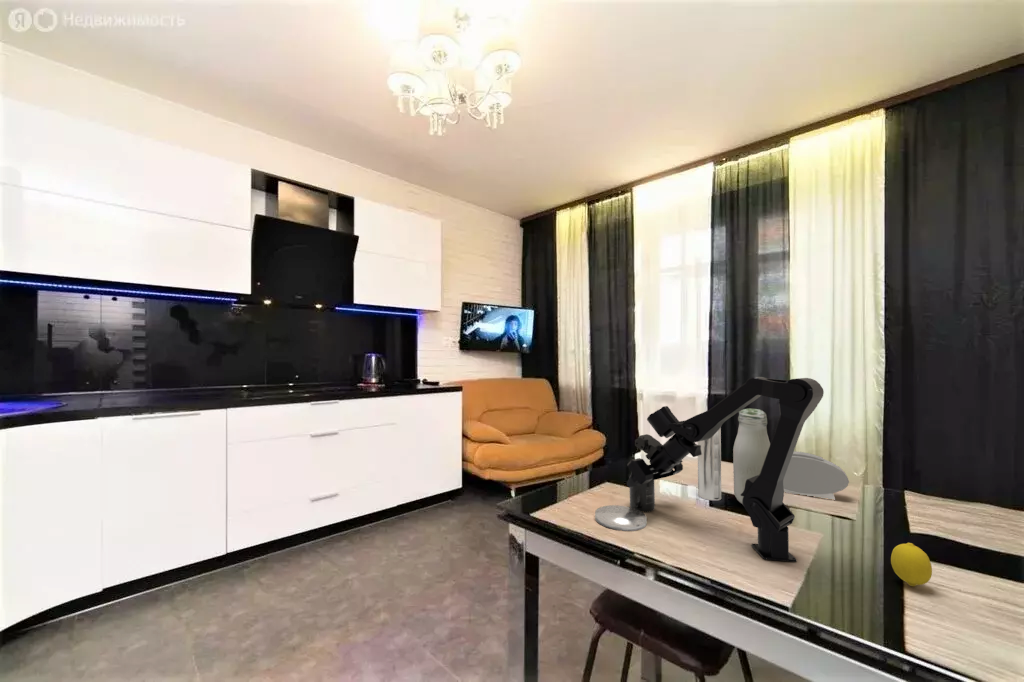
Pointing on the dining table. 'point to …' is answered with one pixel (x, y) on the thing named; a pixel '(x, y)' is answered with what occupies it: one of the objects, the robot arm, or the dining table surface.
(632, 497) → the supplement bottle
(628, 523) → the metal plate
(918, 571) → the lemon
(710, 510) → the dining table surface
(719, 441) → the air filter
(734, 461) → the glass bottle
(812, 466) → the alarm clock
